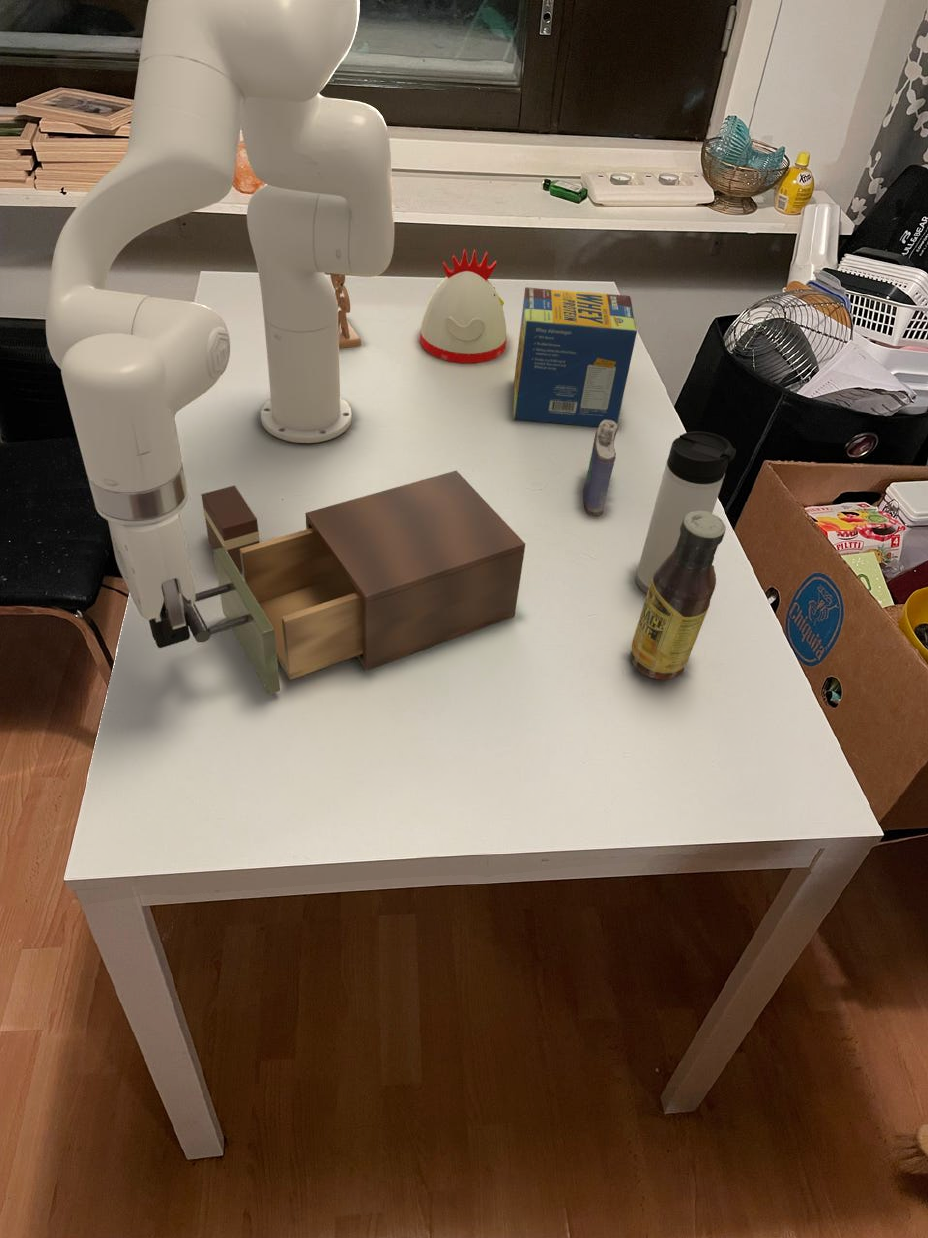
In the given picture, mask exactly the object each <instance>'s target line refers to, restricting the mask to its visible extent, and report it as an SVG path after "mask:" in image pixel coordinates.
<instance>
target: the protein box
mask: <svg viewBox="0 0 928 1238" xmlns="http://www.w3.org/2000/svg"><path fill="white" fill-rule="evenodd" d="M522 302H523V303H522V311H521V312H522V313H521V321H520V329H519V337H518V345H517V353H516V362H515V369H514V370H515V371H514V378H513V413H512V414H513V415H512V416H513V417H512V418H513V420H515V421H516V420H518V421H529V422H537V423H538V422H540V423H549V424H550V423H551V424H562V425H563V424H564V425H572V426H574V425H575V426H587V427H597V428H598V427H599V424H600V423H601V422H602V421H603V420H612V421H614V422H615V423H617V424H618V423H619V417H620V415H621V414H620V413H621V408H622V404H623V400H624V399H623V398H624V394H625V389H626V385H627V381H628V376H629V371H630V366H631V362H632V357H633V352H634V348H635V344H636V338H637V334H638V327H637V325H636V321H635V315H634V309H633V302H632V297H631V296H630V295H626V294H610V293H599V292H588V291H587V292H585V291H575V290H563V289H562V290H561V289H549V288H548V289H547V288H539V287H538V288H537V287H524V293H523V301H522Z"/></svg>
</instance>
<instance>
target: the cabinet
mask: <svg viewBox="0 0 928 1238" xmlns="http://www.w3.org/2000/svg"><path fill="white" fill-rule="evenodd" d="M305 528H306V529H309V528H313V529H314V531H315V532H316V534H317V535H318V536H319V538H320V539H321V540H322V542H323V543H324V545H325V546H326V547H327V549H328V550H329V552H330V553H331V554H332V556H333V557H334V559H335V560H336V561H337V563H338V564H339V566H340V567H341V568H342V570H343V571H344V573H345V574H346V575H347V577H348V578H349V580H350V581H351V582H352V584H353V585H354V587H355V588H356V589H357V591H358V592H359V594H360V595H361V596H362V610H363V654H361V655H358V656H356V657H357V659H358V660H359V662H360V664H361V665H362V666H363V668H364V669H365V671H369V670H372V669H374V668H377V667H381V666H382V665H386V664H388V663H391V662H393V661H396V660H399V659H402V658H405V657H407V656H410V655H412V654H413V655H414V654H416V653H418V652H421V651H424V650H426V649H429V648H432V647H434V646H437V645H439V644H442V643H446V642H448V641H451V640H454V639H456V638H458V637H461V636H464V635H468V634H470V633H472V632H476V631H478V630H481V629H483V628H487V627H490V626H492V625H494V624H497V623H500V622H503V621H505V620H508V619H511V618H513V617H515V616H516V611H517V603H518V598H519V597H518V596H519V590H520V585H521V583H520V582H521V578H522V577H521V576H522V570H523V563H524V556H525V551H526V550H525V549H526V543H525V542H524V541H523V540H522V539H521V537H519V535H518V534H517V533H516V532H515V531H514V530H513V529H512V528H511V526H509V524H507V522H506V521H505V520H504V519H503V518H502V517H501V516H500V515H499V514H498V513H497V512H496V510H494V509H493V507H491V505H489V504H488V501H486V500H485V499H484V498H483V497H482V495H480V493H478V492H477V490H476V489H475V488H473V486H472V485H471V484H470V483H469V482H468V481H467V480H466V479H465V478H464V477H463V475H462V474H460V472H459V471H458V470H453V471H449V472H445V473H442V474H438V475H434V476H431V477H428V478H424V479H420V480H417V481H414V482H409V483H407V484H403V485H400V486H399V485H398V486H395V487H393V488H389V489H385V490H382V491H378V492H375V493H370V494H367V495H363V496H361V497H357V498H354V499H350V500H346V501H342V502H339V503H335V504H332V505H328V506H325V507H321V508H318V509H314V510H311V511H307V512H305ZM306 529H305V530H306Z"/></svg>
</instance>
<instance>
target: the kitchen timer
mask: <svg viewBox="0 0 928 1238" xmlns="http://www.w3.org/2000/svg"><path fill="white" fill-rule="evenodd" d="M488 258H489V253H488V251H486V252H485V253H484V256H483V258H482V261H481V262H480V263H478V259H477V251H476V249H473V253H472V257H471V260H470V263H469V262H468V254H467V250H466V248H464V249H463V251H462V256H461V261H460V262H459V261H458V258H457V257H456V255H455V254H453V255H452V264H453V269H450V268H449V267H448V265H447V263H446V261H443V263H442V267H443V271H444V273H445V276H446V277H444V279H442V281H441V282H440V283H439V284H438V285H437V287H436V288H435V289H434V290H433V292H432V294H431V295H430V298H429V300H428V303H427V305H426V307H425V310H424V313H423V315H422V320H421V326H420V335H419V341H420V345H421V347H422V348H423V349H424V350H425V351H426V352H428V354H430V355H431V356H434V357H436V358H437V359H441V360H443V361H446V362H450V363H458V364H479V363H486V362H490V361H492V360H494V359H497V358H498V357H500V356H501V355H502V354H503V353H504V351H505V350H506V346H507V345H506V344H507V323H506V316H505V312H504V307H503V306H504V305H505V302H504V300H503V299H502V298H501V297H500V295H499V294H498V292H497V290H496V287H495V286H494V285H493V283H492V282H491V281H490V280H489V278H490V277H491V275H492V273H493V272H494V270H495V268H496V266H497V261H498V260H497V259H496V260H495V261H493V263H492V264H491V265H488V261H489V259H488Z"/></svg>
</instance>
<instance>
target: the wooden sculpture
mask: <svg viewBox="0 0 928 1238" xmlns="http://www.w3.org/2000/svg"><path fill="white" fill-rule="evenodd" d="M329 276H330V282H331V285H332V287H333V289H334V292H335V295H336V299H337V304H338V332H339V349H346V348H352V347H360V346H361V345H362V340H361V338H360V336H359V335H358V334H357V332H356V331H355V330H354V329H353V327H352V325H351V324H350V323H349V321H348V317H347V314H349V313H351V301H350V296H349V292H348V289H347V287H346V286H345V283H346V275H342V274H334V273H329ZM341 294H343V295H342V296H341ZM339 309H340V310H339Z"/></svg>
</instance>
